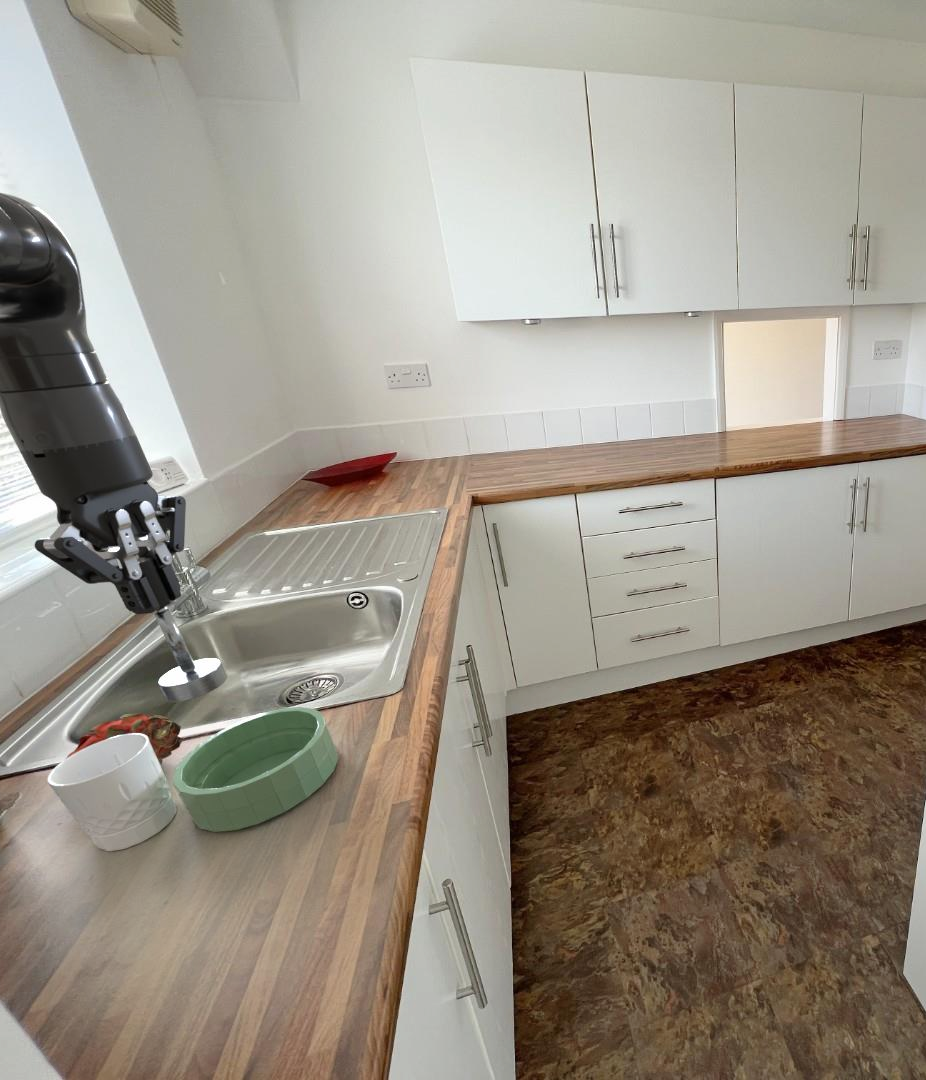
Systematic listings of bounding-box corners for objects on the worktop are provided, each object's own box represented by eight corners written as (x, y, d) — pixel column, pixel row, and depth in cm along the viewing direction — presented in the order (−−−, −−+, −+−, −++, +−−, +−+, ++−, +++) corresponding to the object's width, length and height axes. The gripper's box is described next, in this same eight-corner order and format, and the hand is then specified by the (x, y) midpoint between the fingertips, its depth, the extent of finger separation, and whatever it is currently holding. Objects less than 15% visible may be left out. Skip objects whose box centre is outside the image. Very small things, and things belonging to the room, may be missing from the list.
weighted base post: (152, 703, 61) (85, 574, 55) (192, 674, 66) (134, 552, 60) (202, 700, 61) (140, 570, 55) (238, 671, 66) (185, 549, 60)
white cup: (90, 830, 66) (47, 761, 63) (179, 789, 72) (145, 723, 68) (92, 870, 61) (46, 798, 58) (188, 822, 67) (151, 754, 63)
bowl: (159, 840, 64) (136, 799, 62) (251, 748, 78) (235, 711, 76) (293, 830, 65) (274, 788, 63) (361, 739, 78) (348, 703, 76)
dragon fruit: (206, 760, 78) (90, 816, 73) (189, 708, 81) (76, 757, 76) (171, 744, 72) (40, 804, 66) (154, 687, 75) (27, 740, 69)
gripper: (108, 426, 59) (177, 579, 66) (-55, 459, 47) (51, 645, 53) (182, 421, 59) (244, 574, 66) (40, 452, 47) (135, 639, 53)
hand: (158, 605), depth 59 cm, fingers closed on weighted base post
